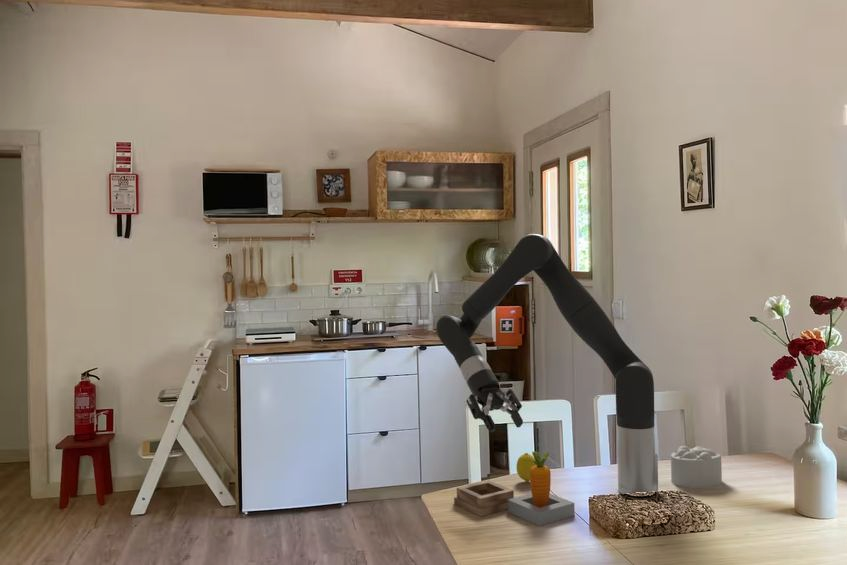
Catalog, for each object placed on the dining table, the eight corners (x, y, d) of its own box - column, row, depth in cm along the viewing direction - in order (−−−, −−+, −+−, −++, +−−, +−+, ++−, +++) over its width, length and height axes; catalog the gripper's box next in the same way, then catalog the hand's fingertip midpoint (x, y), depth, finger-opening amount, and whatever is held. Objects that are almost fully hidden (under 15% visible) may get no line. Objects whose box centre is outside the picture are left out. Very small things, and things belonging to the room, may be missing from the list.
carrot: (553, 511, 161) (551, 448, 160) (549, 518, 156) (548, 454, 156) (532, 509, 162) (530, 447, 162) (528, 516, 157) (527, 452, 157)
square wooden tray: (489, 494, 173) (488, 479, 173) (516, 506, 164) (516, 490, 164) (454, 503, 168) (453, 487, 168) (480, 516, 158) (480, 499, 158)
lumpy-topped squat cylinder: (727, 483, 178) (726, 450, 178) (690, 490, 173) (689, 457, 172) (697, 472, 187) (696, 441, 187) (661, 479, 182) (660, 447, 182)
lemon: (536, 479, 185) (535, 450, 185) (538, 485, 180) (537, 455, 180) (516, 479, 186) (515, 450, 186) (517, 485, 180) (516, 455, 180)
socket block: (542, 502, 167) (542, 490, 167) (574, 515, 157) (574, 502, 157) (508, 512, 161) (507, 499, 161) (539, 526, 151) (538, 512, 151)
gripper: (462, 370, 172) (491, 423, 162) (506, 365, 180) (535, 415, 170) (451, 388, 177) (478, 440, 167) (494, 382, 184) (522, 432, 175)
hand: (507, 427), depth 169 cm, fingers open, 8 cm apart
